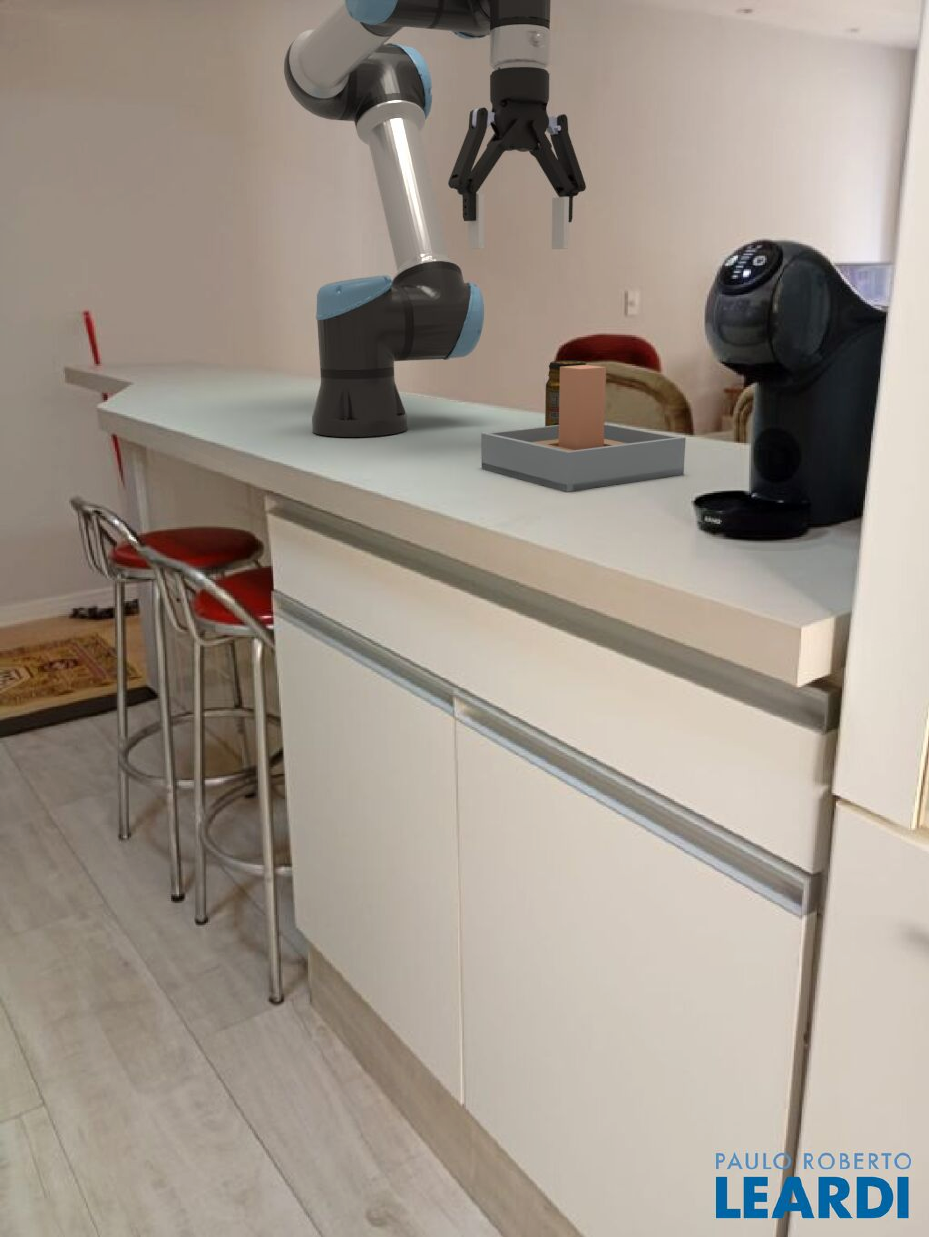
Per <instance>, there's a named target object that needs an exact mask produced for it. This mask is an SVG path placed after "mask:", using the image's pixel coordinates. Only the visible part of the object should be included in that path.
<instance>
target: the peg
mask: <svg viewBox="0 0 929 1237" xmlns="http://www.w3.org/2000/svg"><path fill="white" fill-rule="evenodd" d="M606 384H607V367H606V366H599V365H589V364H586V365H579V366H565V367H560V388H559V445H558V447H562V448H566V449H571V450H581V449H589V448H597V447H604V423H605V422H606V421H605V420H606V419H605V416H606V391H607V390H606V389H607V388H606V386H607V385H606ZM605 424H606V423H605Z"/></svg>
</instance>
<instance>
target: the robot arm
mask: <svg viewBox="0 0 929 1237" xmlns="http://www.w3.org/2000/svg"><path fill="white" fill-rule="evenodd" d="M551 1H552V0H340V1H339V2H338V3H337V4H336V5H335V6H334V8H333V9H332V10H331V11H330V12H329V13H328V14H327V15H326V16H325V17H324V18H323V19H322V21H321V22H320V23H319V24H318V25H317V26H316V27H315V28H314V29H313V28H312V29H309V30H308V29H307V30H305V31H304V32H301V33H300V34H298V36H297V37H296V38H295V39H294V40H293V41H292V42H291V44H290V45H289V47H288V48H287V50H286V53H285V57H284V61H283V74H284V75H283V76H284V80H285V82H286V86H287V89H288V90H289V92H290V94H291V95H292V97H293V98H294V99H295V101H296V102H297V103H298V104H299V105H300V106H301V107H302V108H303V109H304V110H306V111H308V112H309V113H310V114H312V115H315V116H317V117H319V118H322V119H325V120H330V121H344V122H353V123H354V125H355V126H354V127H355V130H356V134H357V137H358V139H359V140H361V142H362V143H364V144H366V145H368V146H369V150H370V155H371V159H372V164H373V168H374V173H375V178H376V181H377V186H378V190H379V191H378V192H379V194H380V199H381V204H382V207H383V212H384V217H385V221H386V225H387V229H388V230H387V231H388V235H389V239H390V243H391V248H392V249H391V250H392V253H393V257H394V260H395V261H394V262H395V266H396V269H397V272H396V273H395V275H394V277H393V278H391V277H390V276H389V275H375V276H368V277H367V276H366V277H357V278H351V279H346V280H344V279H343V280H340V281H334V282H330V283H326V284H324V285H322V286H320V288H319V289H318V291H317V293H316V314H315V320H316V322H317V335H318V336H317V337H318V351H319V352H318V353H319V366H320V367H319V369H320V385H319V389H318V393H317V397H316V400H315V405H314V410H313V414H312V419H311V421H312V422H311V424H312V425H311V426H312V433H313V434H315V435H321V436H325V437H327V436H328V437H341V438H342V437H343V438H350V437H351V438H357V437H358V438H363V437H366V438H367V437H375V436H376V437H379V436H387V435H388V436H390V435H394V434H399V433H403V432H405V431H407V430H408V419H407V418H408V417H407V413H406V410H405V407H404V405H403V401H402V398H401V395H400V393H399V390H398V386H397V384H396V379H395V378H396V377H395V362H404V361H405V362H406V361H409V362H410V361H425V360H426V361H429V360H431V361H432V360H444V361H447V360H450V359H454V358H455V359H456V358H457V359H459V358H464V357H467V356H469V355H470V354H471V353H472V352H473V351H474V350H475V348H476V347H477V345H478V343H479V341H480V338H481V335H482V331H483V327H484V318H485V304H484V296H483V294H482V291H481V289H480V288H479V286H478V285H477V284H475V283H473V282H470V281H469V282H465V281H464V277H463V272H462V269H461V266H460V265H459V264H458V263H457V262H455V261H453V260H451V259H450V258H449V254H448V250H447V249H448V248H447V245H446V242H445V241H446V240H445V237H444V233H443V232H444V231H443V228H442V224H441V220H440V215H439V211H438V206H437V202H436V198H435V193H434V188H433V184H432V180H431V177H430V176H431V175H430V172H429V169H428V164H427V159H426V155H425V151H424V147H423V146H424V145H423V142H422V137H421V134H420V133H421V131H422V130H423V128H424V126H425V123H426V120H427V118H428V117H429V115H430V112H431V109H432V102H433V94H432V91H431V90H432V88H433V84H432V78H431V72H430V69H429V66H428V64H427V62H426V60H425V58H424V57H423V55H422V54H421V52H419V51H418V50H416V49H415V48H414V47H411V46H408V45H407V46H406V45H401V44H398V43H395V42H389V43H386V42H388V41H389V40H390V39H391V38H392V37H393V36H394V35H396V34H397V33H398V32H399V31H400V30H402V29H403V28H405V27H406V28H415V29H428V30H429V29H430V30H438V31H450V32H452V33H453V34H454V35H455V36H458V38H461V39H464V40H476V39H482V38H485V37H486V36H489V66H490V67H491V69H493V71H491V74H489V101H490V104H491V106H492V107H491V110H490V111H488V109H487V108H486V107H480V108H476V109H473V110H471V111H469V112H470V113H469V115H468V116H469V118H468V119H469V120H468V121H469V122H468V129H467V132H466V134H465V137H464V139H463V142H462V146H461V148H460V150H459V153H458V154H457V158H456V159H455V160H456V161H455V163H454V166H453V169H452V170H451V171H452V172H451V173H450V177H449V178H448V179H449V180H448V182H447V184H448V186H449V189H454V190H456V192H457V194H458V195H460V196H461V197H462V218H463V221H464V222H467V250H482V249H483V250H484V248H485V215H484V214H485V210H484V209H485V206H484V205H485V203H484V202H485V198H484V197H485V195H484V194H485V193H478V191H479V190H480V188H481V187H482V185H483V184H484V182H486V179H487V177H489V175H490V173H491V172H492V170H493V169H494V167H495V166H496V165H497V162H499V159H500V158H501V157H502V155H503V154H504V153H505V152H511V151H512V152H513V151H518V152H519V153H520V152H521V153H525V152H526V153H527V152H529V154H530V155H532V157H534V158H535V160H536V161H537V164H538V165H539V167H540V168H541V170H542V171H543V173H544V175H545V176H546V178H547V180H548V181H549V183H550V184H551V186H552V188H553V190H554V191H555V193H556V194H557V196H556V197H552V201H551V204H552V206H551V210H552V211H551V250H565V249H569V223H572V222H573V221H572V220H573V212H574V211H573V208H574V204H573V203H574V197H576V196H578V195H579V194H580V193H582V192H584V191H586V188H587V185H586V184H587V183H586V182H585V178H584V176H583V173H582V170H581V167H580V163H579V161H578V160H579V159H578V158H577V155H576V151H575V149H574V146H573V142H572V139H571V137H570V133H569V119H568V116H567V114H565V113H563V114H558V115H555V116H549V115H548V111H547V107H548V103H549V100H550V72H549V71H548V70H547V69H546V68H548V66H549V65H550V50H551V49H550V47H551V46H550V43H551V38H550V37H551V29H550V26H551V25H550V23H551ZM489 127H491V129H492V130H493V132H494V133H493V134H492V136H491V138H490V139H489V140H488V142H487V143H486V148H485V150H484V151H483V152H482V154H481V156H480V157H479V159H478V160H477V161H476V159H477V157H478V154H479V151H480V148H481V147H482V143H483V141H484V138H485V136H486V132H487V129H488V128H489ZM546 133H548V134H549V136H550V140H549V138H548V136H547V134H546ZM552 147H553V149H552ZM553 150H554V151H553ZM475 162H476V163H475ZM474 164H475V165H474Z"/></svg>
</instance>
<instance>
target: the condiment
mask: <svg viewBox="0 0 929 1237" xmlns="http://www.w3.org/2000/svg"><path fill="white" fill-rule="evenodd" d="M579 365H587V363H586V362H585V361H582V360H554V361H551V362H549V365H548V369H549V370H548V374H547V376H548V379H547V382H546V383H545V402H544V403H545V408H544V409H545V413H544V414H545V415H544V416H545V418H544V419H545V420H544V426H553V425H559V388H560V367H565V366H579Z"/></svg>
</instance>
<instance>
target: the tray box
mask: <svg viewBox="0 0 929 1237" xmlns="http://www.w3.org/2000/svg"><path fill="white" fill-rule="evenodd" d="M480 436H481V438H480V439H481V441H480V443H481V444H480V445H481V446H480V447H481V448H480V449H481V452H480V453H481V455H480V458H481V469H482V470H486V471H489V472H494V473H497V474H500V475H504V476H508V477H511V478H515V479H519V480H522V481H527V482H530V483H533V484H537V485H541V486H544V487H548V488H552V489H555V490H558V491H562V492H566V493H571V492H576V491H584V490H589V489H596V488H602V487H609V486H614V485H622V484H629V483H636V482H641V481H649V480H654V479H655V480H656V479H661V478H669V477H674V476H682V475H684V472H685V458H686V457H685V455H686V442H687V441H686V437H685V436H684V437H683V436H679V435H673V434H667V433H666V434H665V433H661V432H654V431H650V430H644V429H640V428H638V429H637V428H633V427H626V426H623V425H622V426H621V425H615V424H609V423H604V447H597V448H589V449H581V450H571V449H566V448H562V447H558V445H559V425H553V426H545V425H544V426H536V427H526V428H518V429H509V430H507V429H506V430H500V431H490V432H481V435H480Z"/></svg>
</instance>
